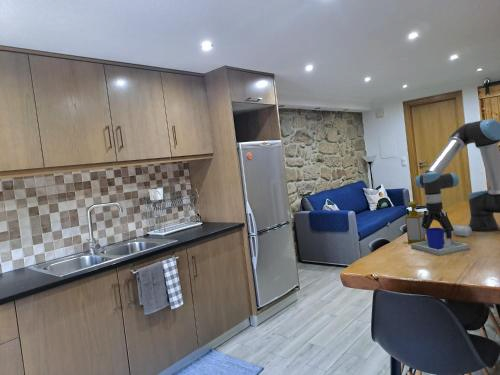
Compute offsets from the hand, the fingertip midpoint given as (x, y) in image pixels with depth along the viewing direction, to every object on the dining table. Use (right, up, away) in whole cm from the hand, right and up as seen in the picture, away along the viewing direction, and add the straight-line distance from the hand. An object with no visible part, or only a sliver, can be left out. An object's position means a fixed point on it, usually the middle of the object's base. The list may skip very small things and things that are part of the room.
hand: (438, 242), depth 188 cm
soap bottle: (0, -3, +21) cm, 22 cm away
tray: (0, -3, 0) cm, 3 cm away
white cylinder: (+26, +4, +17) cm, 31 cm away
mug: (+1, -3, -1) cm, 3 cm away
